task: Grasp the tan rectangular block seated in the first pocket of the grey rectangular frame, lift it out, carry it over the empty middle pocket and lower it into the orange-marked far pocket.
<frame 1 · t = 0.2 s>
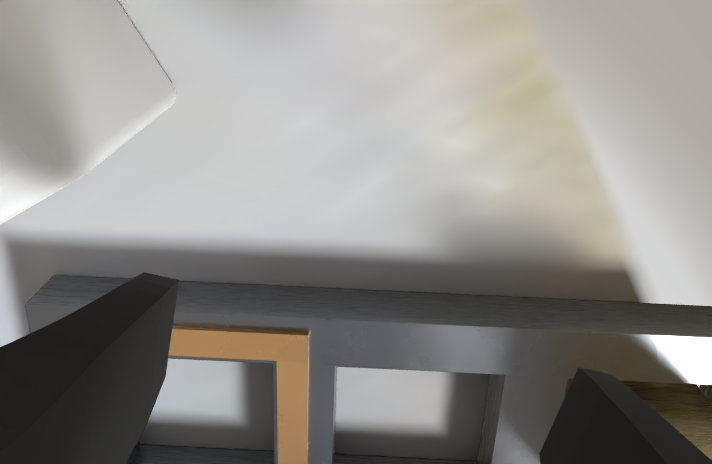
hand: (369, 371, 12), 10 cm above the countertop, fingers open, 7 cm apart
grey rectangular frame: (410, 399, 24), on the countertop
tan rectangular block: (615, 409, 24), resting in grey rectangular frame
medicine bottle: (19, 47, 20), on the countertop
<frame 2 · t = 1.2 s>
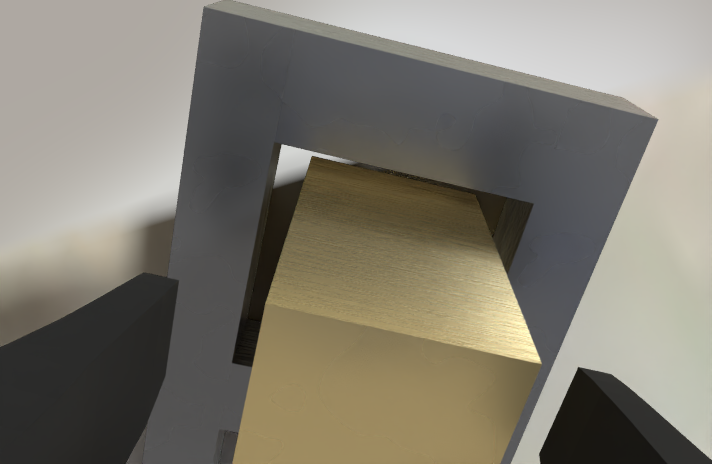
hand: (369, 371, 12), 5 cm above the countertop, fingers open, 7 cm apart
tan rectangular block: (373, 249, 16), resting in grey rectangular frame
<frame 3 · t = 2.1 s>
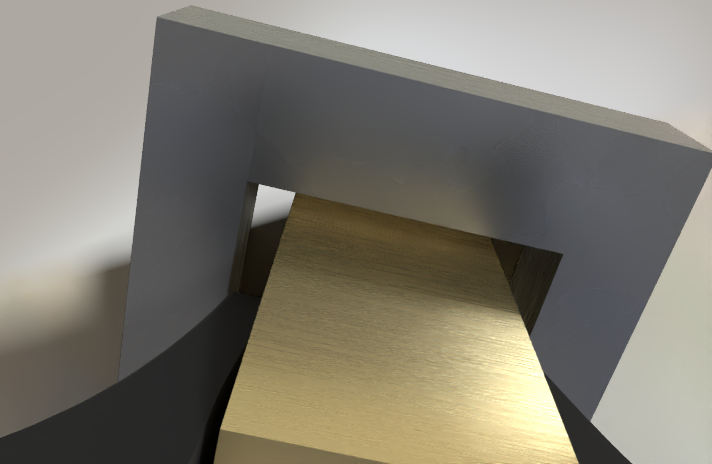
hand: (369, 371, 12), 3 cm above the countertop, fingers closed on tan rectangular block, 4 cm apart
tan rectangular block: (370, 297, 14), resting in grey rectangular frame, touching gripper
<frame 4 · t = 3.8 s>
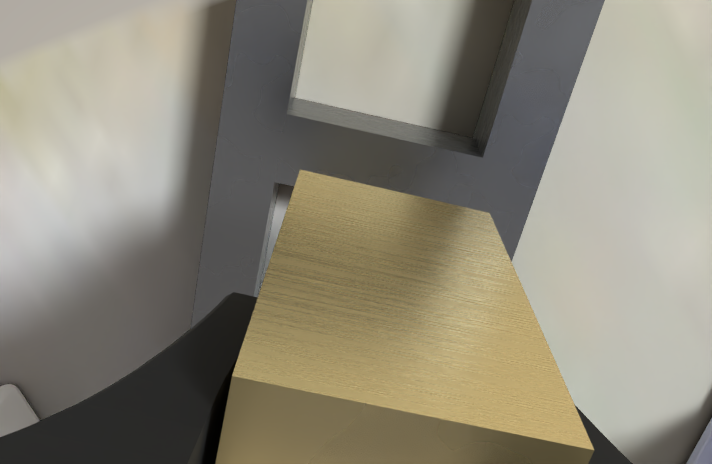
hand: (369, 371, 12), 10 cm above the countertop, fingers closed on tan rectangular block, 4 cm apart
grey rectangular frame: (350, 256, 22), on the countertop
tan rectangular block: (372, 275, 14), point 7 cm above the countertop, touching gripper
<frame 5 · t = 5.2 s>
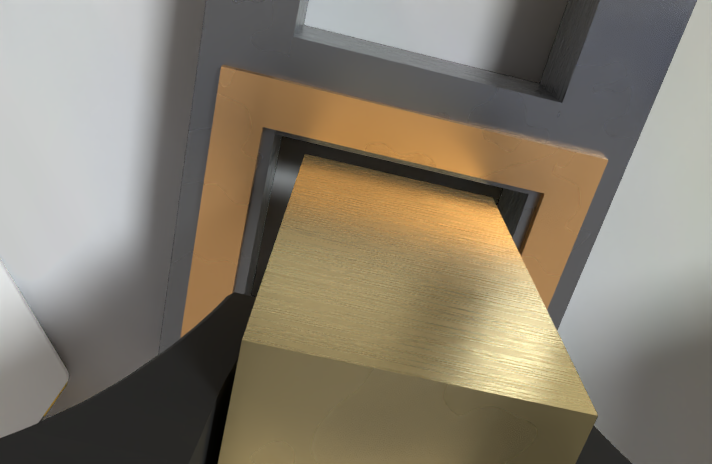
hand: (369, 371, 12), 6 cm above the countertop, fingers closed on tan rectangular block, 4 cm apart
tan rectangular block: (376, 260, 14), point 2 cm above the countertop, touching gripper
when the fingers open (4 cm above the countertop, at t = 6.0 s): tan rectangular block stays where it is, resting in grey rectangular frame.
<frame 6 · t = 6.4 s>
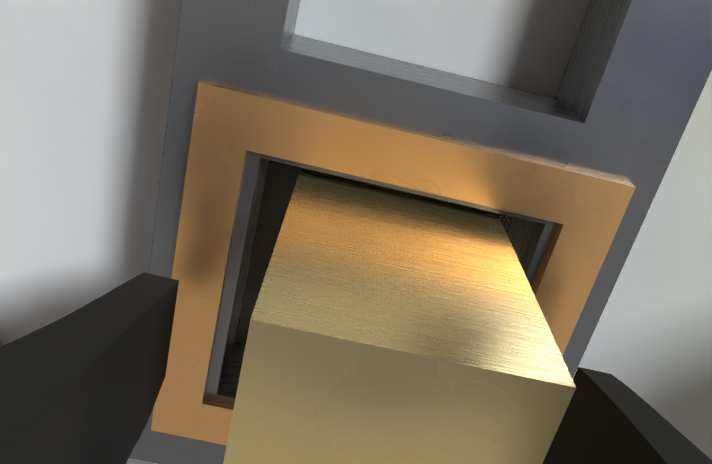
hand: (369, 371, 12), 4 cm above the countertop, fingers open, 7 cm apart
tan rectangular block: (376, 250, 15), resting in grey rectangular frame
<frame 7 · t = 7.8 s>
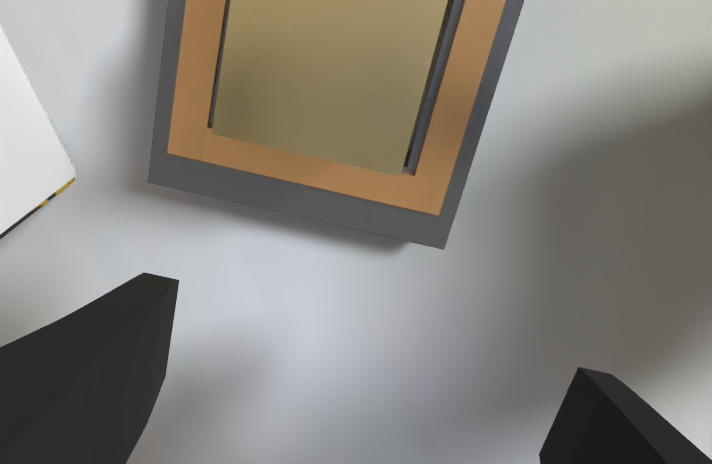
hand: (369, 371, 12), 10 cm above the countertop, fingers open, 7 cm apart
tan rectangular block: (342, 21, 19), resting in grey rectangular frame
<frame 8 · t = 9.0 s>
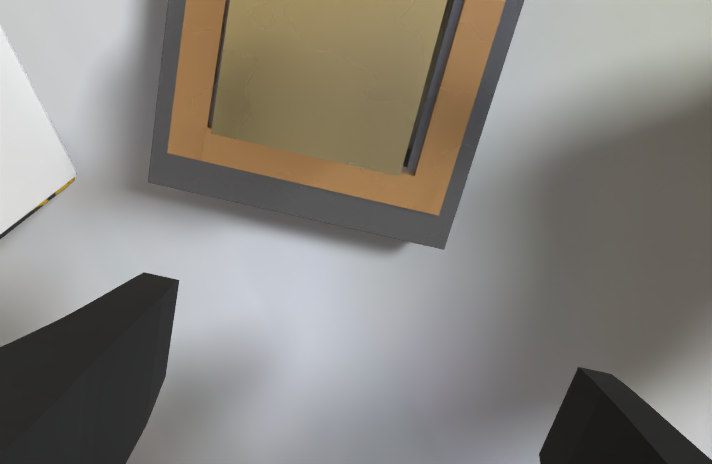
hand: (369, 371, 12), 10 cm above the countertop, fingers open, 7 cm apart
tan rectangular block: (342, 21, 19), resting in grey rectangular frame
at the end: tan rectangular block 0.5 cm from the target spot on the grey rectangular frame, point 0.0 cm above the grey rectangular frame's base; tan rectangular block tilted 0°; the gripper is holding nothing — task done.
